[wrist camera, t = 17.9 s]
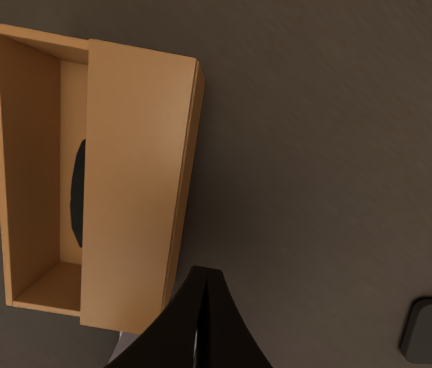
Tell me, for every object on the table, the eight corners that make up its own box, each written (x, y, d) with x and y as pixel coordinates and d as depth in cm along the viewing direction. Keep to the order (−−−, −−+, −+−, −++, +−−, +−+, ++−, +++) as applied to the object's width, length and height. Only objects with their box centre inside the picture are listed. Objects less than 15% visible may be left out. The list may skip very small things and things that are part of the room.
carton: (58, 53, 17) (-14, 20, 12) (205, 81, 17) (199, 61, 12) (58, 261, 22) (5, 305, 16) (174, 280, 22) (160, 329, 17)
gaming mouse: (150, 89, 17) (129, 79, 13) (161, 259, 21) (148, 289, 17) (69, 89, 17) (26, 79, 13) (94, 258, 21) (66, 288, 17)
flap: (91, 39, 12) (88, 37, 11) (197, 59, 12) (196, 58, 11) (82, 321, 16) (79, 324, 16) (158, 334, 16) (156, 337, 16)
